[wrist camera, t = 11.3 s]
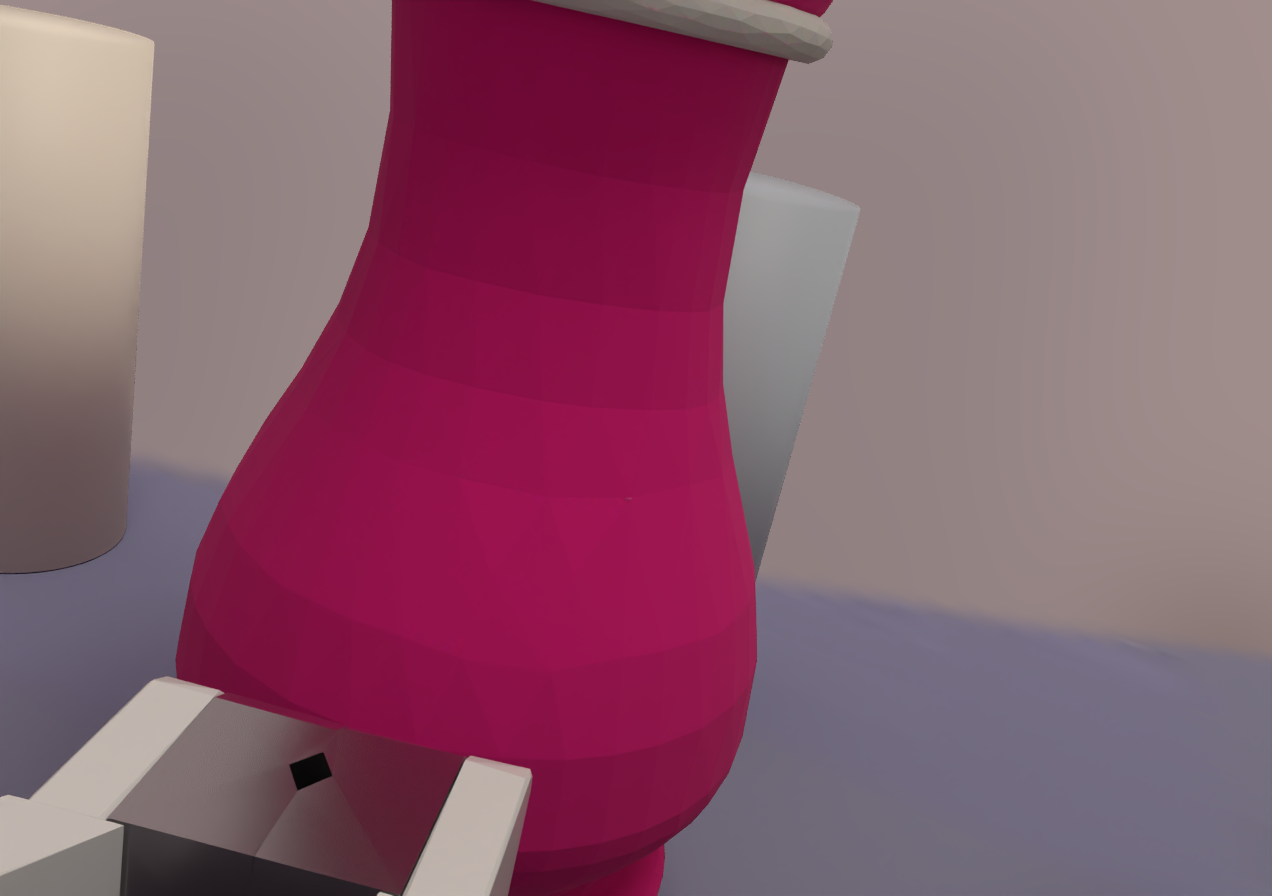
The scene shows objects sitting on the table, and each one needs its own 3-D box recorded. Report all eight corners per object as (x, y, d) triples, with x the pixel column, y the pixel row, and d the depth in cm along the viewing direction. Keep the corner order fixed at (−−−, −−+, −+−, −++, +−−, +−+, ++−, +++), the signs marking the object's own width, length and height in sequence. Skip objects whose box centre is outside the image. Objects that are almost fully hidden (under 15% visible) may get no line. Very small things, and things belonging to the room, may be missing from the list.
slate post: (521, 682, 22) (628, 167, 18) (560, 591, 25) (655, 149, 22) (722, 735, 21) (867, 223, 18) (731, 634, 25) (854, 195, 22)
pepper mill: (213, 727, 18) (362, -865, 12) (633, 761, 20) (986, -622, 13) (82, 1139, 12) (247, -1985, 5) (723, 1140, 14) (1524, -1231, 7)
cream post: (-146, 540, 21) (-166, -13, 18) (-7, 468, 25) (-2, 0, 22) (51, 592, 21) (70, 43, 18) (162, 512, 25) (195, 46, 21)
